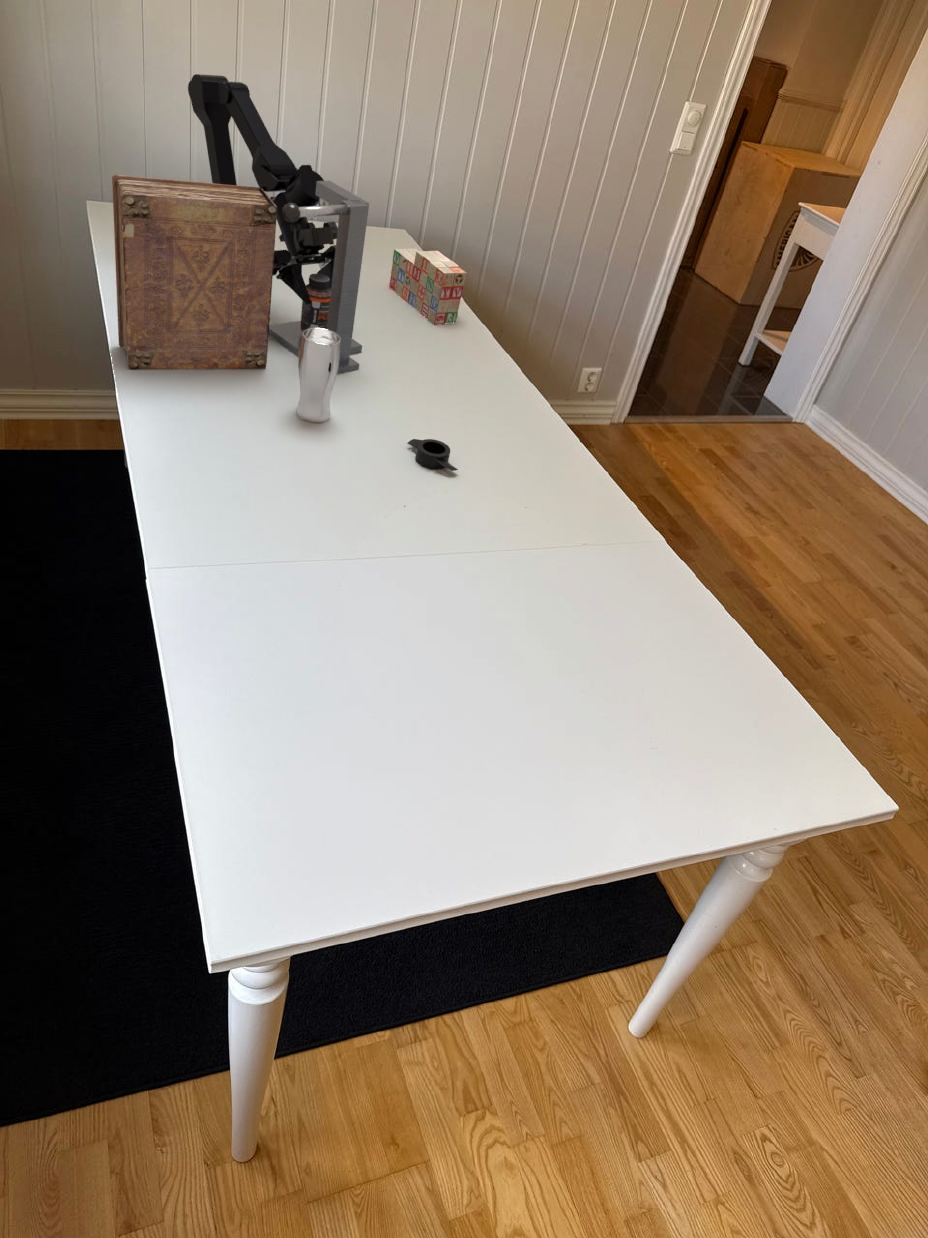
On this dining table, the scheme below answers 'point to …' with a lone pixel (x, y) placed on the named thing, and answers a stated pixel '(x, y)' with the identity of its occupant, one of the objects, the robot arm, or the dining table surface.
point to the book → (193, 273)
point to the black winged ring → (432, 454)
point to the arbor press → (334, 269)
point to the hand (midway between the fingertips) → (321, 302)
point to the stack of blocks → (428, 283)
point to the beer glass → (317, 373)
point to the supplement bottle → (316, 303)
